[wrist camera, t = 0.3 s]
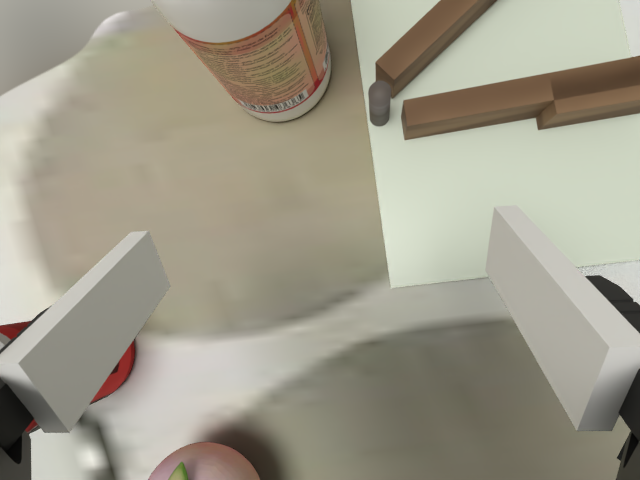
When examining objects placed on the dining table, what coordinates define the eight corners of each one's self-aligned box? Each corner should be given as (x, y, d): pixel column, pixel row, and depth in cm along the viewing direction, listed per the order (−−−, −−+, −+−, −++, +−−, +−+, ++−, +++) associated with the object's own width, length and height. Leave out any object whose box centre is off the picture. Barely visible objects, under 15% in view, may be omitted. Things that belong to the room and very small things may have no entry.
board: (663, 256, 27) (674, 256, 26) (390, 287, 30) (390, 288, 29) (590, -86, 30) (597, -98, 29) (346, -26, 32) (345, -36, 31)
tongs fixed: (638, 113, 27) (688, 83, 23) (375, 157, 30) (374, 138, 25) (627, 61, 27) (674, 22, 23) (368, 109, 30) (366, 83, 26)
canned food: (50, 374, 34) (-103, 423, 23) (84, 296, 34) (-52, 309, 23) (115, 413, 33) (-14, 484, 22) (151, 332, 33) (39, 363, 22)
